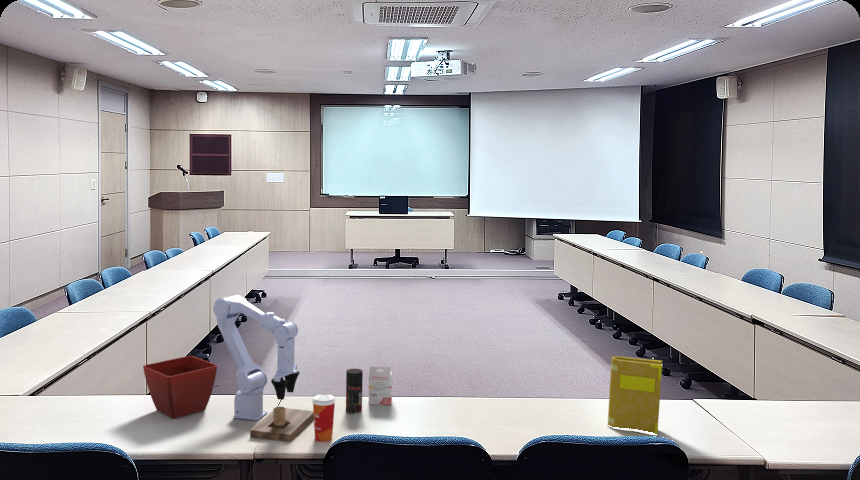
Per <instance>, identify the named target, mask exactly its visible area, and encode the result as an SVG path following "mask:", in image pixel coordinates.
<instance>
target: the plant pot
mask: <svg viewBox="0 0 860 480" xmlns="http://www.w3.org/2000/svg"><path fill="white" fill-rule="evenodd" d="M142 368H143V373H144V378H145V381H146V386H147V389H148V391H149V395H150V398H151V400H152V402H153V404H154V406H155V407H154V408H155V409H156V411H157V412H159V413H160V414H163V415H165V416H167V417H169V418H171V419H177V418H181V417H184V416H188V415H192V414H197V413H199V412H200V413H201V412H203V411H206V409H207V407H208V404H209V401H210V398H211V396H212V393H213V388H214V385H215V382H216V376H217V370H218V369H217V368H218V365H217V364H215V363H212V362H209V361H208V360H205V359H201V358H199V357H196V356H194V355H188V356H180V357H178V358H177V357H176V358H171V359H167V360H162V361H158V362H153V363H148V364H144V365H143V367H142Z"/></svg>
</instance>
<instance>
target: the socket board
mask: <svg viewBox="0 0 860 480" xmlns="http://www.w3.org/2000/svg"><path fill="white" fill-rule="evenodd" d="M312 421H314V411H313V410H305V409H297V408H289V407H288V408H287V407H286V408H285V428H284V429H281V428H273V411H272V412H270V414H268V415H267V416H266V417H265V418H263V419H262V420H261V421H260V422H258V423H257V424H256V425H255V426H253V427H252V428H251V429H249V437H250V438H251V439H252V438H253V439H258V440H259V439H260V440H261V439H262V440H268V441H269V440H270V441H278V442H285V443H286V442H287V443H291V442H292V441H293V440H294V439H295V438H296V437H297V436H298V435H299V434H300V433H301V432H302V431H303V430H304V429H305V428H306V427H307V426H308V425H309V424H310V423H312Z"/></svg>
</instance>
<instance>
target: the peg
mask: <svg viewBox="0 0 860 480" xmlns="http://www.w3.org/2000/svg"><path fill="white" fill-rule="evenodd" d="M272 412H273V428H281V429H284V428H285V407H284V406H275V407H273V409H272Z"/></svg>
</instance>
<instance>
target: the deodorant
mask: <svg viewBox="0 0 860 480" xmlns="http://www.w3.org/2000/svg"><path fill="white" fill-rule="evenodd" d="M363 371H364V370H363V369H361V368H349V369H347V370H346V373H345V374H346V375H345V376H346V377H345V378H346V379H345V380H346V381H345V382H346V383H345V385H346V386H345V412H346V413H348V414H359V413H361V412H362V411H363V382H364V381H363V377H364V375H363Z"/></svg>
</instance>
